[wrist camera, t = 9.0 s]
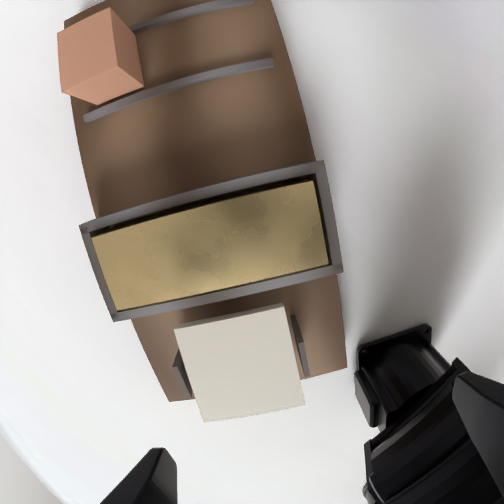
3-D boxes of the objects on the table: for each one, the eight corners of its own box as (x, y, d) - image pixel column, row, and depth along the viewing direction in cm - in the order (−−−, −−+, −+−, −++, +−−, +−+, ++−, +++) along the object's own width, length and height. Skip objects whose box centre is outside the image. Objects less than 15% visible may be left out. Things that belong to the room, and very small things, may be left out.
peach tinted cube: (135, 35, 13) (110, 7, 10) (144, 86, 14) (117, 66, 11) (90, 54, 14) (57, 33, 10) (97, 105, 14) (61, 92, 11)
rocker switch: (282, 302, 17) (284, 306, 16) (302, 395, 17) (305, 404, 16) (179, 324, 17) (173, 329, 16) (207, 412, 17) (203, 421, 16)
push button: (302, 178, 16) (313, 180, 14) (316, 250, 17) (328, 263, 15) (110, 228, 16) (91, 238, 14) (131, 292, 17) (117, 310, 15)
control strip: (254, -26, 14) (257, -70, 9) (339, 352, 22) (361, 396, 17) (77, 30, 15) (40, 4, 10) (173, 385, 22) (160, 432, 17)
